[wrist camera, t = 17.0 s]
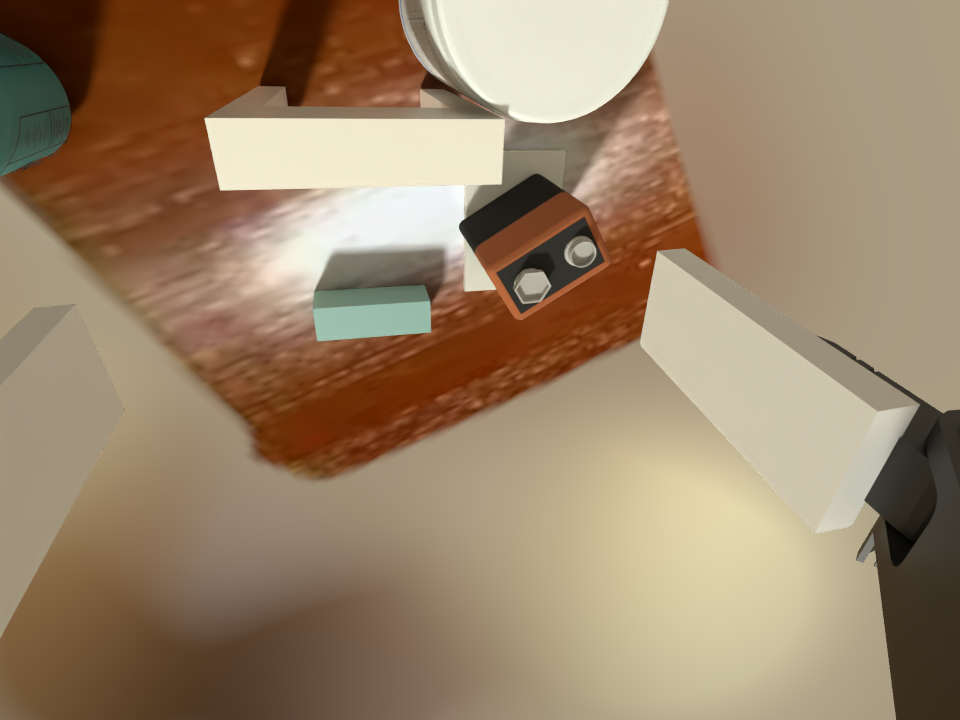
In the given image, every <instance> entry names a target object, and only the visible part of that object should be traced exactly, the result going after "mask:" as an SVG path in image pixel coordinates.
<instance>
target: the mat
mask: <svg viewBox="0 0 960 720" xmlns="http://www.w3.org/2000/svg"><path fill="white" fill-rule="evenodd" d="M565 161H566V151H564V150H509V151H503V167H502V184H493V185H465V219H466V218H467V217H469V216H470V215H472V214H473V213H475V212H476V211H478V210H479V209H481V208H482V207H484V206H485V205H487V204H488V203H490V202H492V201H493V200H495V199H496V198H498V197H499V196H501V195H502V194H504V193H505V192H507V191H508V190H510V189H511V188H513V187H514V186H516V185H518V184H519V183H521V182H522V181H524V180H525V179H527V178H528V177H530V176H531V175H533V174H540V175H542V176H544V177H545V178H547V179H548V180H550V181H551V182H552V183H554V184H555V185H557V186H558V187H560V188H561V189H562V188H563V179H564V170H565ZM463 288H464V290H465V291H480V290H496V288H495V286H494V284H493V283H492V281H491V280H490V278H489V276H488V275H487V273H486V272H485V270H484V268H483V267H482V265H481V264H480V262H479V260H478V259H477V257H476V256H475V254H474V252H473V251H472V249H471V247H470V246H469V244H468V243H467V241H466V239H465V238H464V286H463Z"/></svg>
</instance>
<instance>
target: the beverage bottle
mask: <svg viewBox="0 0 960 720" xmlns="http://www.w3.org/2000/svg"><path fill="white" fill-rule="evenodd" d="M0 33H3V32H1V31H0ZM4 34H5V33H4ZM6 35H7V34H6ZM8 36H9V35H8ZM10 37H11V36H10ZM12 38H13V37H12ZM14 39H15V38H14ZM17 41H18V40H17ZM19 42H20V41H19ZM22 44H23V43H22ZM22 44H20V43H18V42H16V41H15V40H13V39H11V38H9V37H6V36H4V35H2V34H0V176H3V175H5V174H7V173H9V172H12V171H14V170H16V169H21V167H25V165H27V166H28V165H30V164H32V163H33V162H34V161H37V160H39V159H41V158H43V157H46V156H49V157H50V156H51V155H52V154H53V152H55V151H56V150H57V149H58V148H59V147H60V146H61V145H62V144H63V143H64V142H67V140H68V139H67V140H66V141H65V139H66V137H67V135H68V132H69V128H70V122H71V124H72V118H71V109H70V104H69V101H68V97H67V95H66V92H65V90H64V88H63V86H62V84H61V82H60V81H59V79H58V78H57V76H56V75H55V73H54V72H53V71H52V70H51V68H50V67H49V66H48V65H47V64H46V63H45V62H44V61H43V60H42V59H41V58H40V57H39V56H38V55H37V54H36V53H35V52H34V53H33V52H32V50H31V49H30V48H29V49H30V50H29V49H28V48H26V47H27V46H26V45H25V46H26V47H25V46H23V45H24V44H23V45H22ZM70 131H71V128H70ZM69 135H70V133H69ZM68 138H69V136H68ZM65 144H66V143H65ZM63 147H64V146H63ZM56 153H57V152H56ZM56 153H55V154H56ZM53 156H55V155H53ZM49 157H48V158H49ZM48 158H47V160H48ZM51 158H52V157H51ZM44 161H45V160H44ZM36 163H38V162H36ZM36 163H34V165H35V164H36ZM39 163H40V161H39ZM39 163H38V164H39ZM36 165H37V164H36ZM27 166H26V167H25V168H24V169H25V170H26V168H27V169H28V167H27ZM30 166H31V165H30ZM31 167H32V166H31ZM24 169H23V170H24ZM16 171H17V170H16ZM14 173H15V172H14ZM14 173H13V174H14ZM10 176H11V175H10ZM7 178H8V177H7ZM1 181H2V180H1Z"/></svg>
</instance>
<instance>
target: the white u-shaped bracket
mask: <svg viewBox="0 0 960 720" xmlns="http://www.w3.org/2000/svg"><path fill="white" fill-rule="evenodd" d="M205 123H206V127H207V132H208V136H209V141H210V145H211V150H212V155H213V159H214V164H215V168H216V173H217V178H218V182H219V187H220V190H258V189H305V188H352V187H399V186H446V185H493V184H502V167H503V147H504V127H505V119H503V118H501V117H499V116H497V115H495V114H493V113H491V112H489V111H487V110H485V109H483V108H481V107H479V106H477V105H475V104H473V103H471V102H469V101H467V100H465V99H463V98H461V97H458V96H456V95H454V94H452V93H450V92H448V91H446V90H444V89H420V108H402V107H292V106H288V103H287V95H286V88H285V87H283V86H258V87H256V88H254V89H253V90H251V91H249V92H248V93H246V94H244V95H243V96H241V97H239V98H237V99H236V100H234V101H232V102H231V103H229V104H227V105H226V106H224V107H222V108H221V109H219V110H217V111H216V112H214V113H212V114H210V115H209V116H207V117H205Z"/></svg>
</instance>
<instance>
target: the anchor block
mask: <svg viewBox="0 0 960 720" xmlns="http://www.w3.org/2000/svg"><path fill="white" fill-rule="evenodd" d="M313 314H314V321H315V328H316V335H317V341H326V340H339V339H352V338H364V337H377V336H390V335H403V334H416V333H428V332H431V315H430V299H429V296H428V293H427V290H426V287H425V285H409V286H393V287H376V288H359V289H342V290H325V291H314V301H313Z"/></svg>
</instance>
